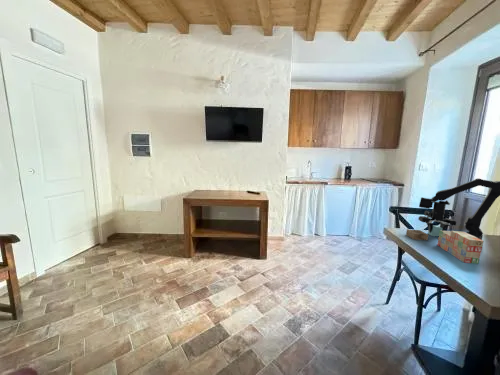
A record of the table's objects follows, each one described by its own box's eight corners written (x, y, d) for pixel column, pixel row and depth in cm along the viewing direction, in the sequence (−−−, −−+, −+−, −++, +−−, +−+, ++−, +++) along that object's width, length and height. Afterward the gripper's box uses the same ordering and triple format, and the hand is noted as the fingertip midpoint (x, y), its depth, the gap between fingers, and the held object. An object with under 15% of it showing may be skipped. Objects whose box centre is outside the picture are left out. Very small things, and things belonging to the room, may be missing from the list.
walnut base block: (419, 236, 142) (420, 230, 141) (427, 240, 134) (428, 234, 134) (406, 235, 143) (406, 229, 142) (413, 239, 135) (414, 233, 135)
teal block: (436, 234, 145) (438, 225, 145) (441, 237, 141) (442, 228, 140) (427, 233, 147) (429, 224, 146) (432, 236, 142) (433, 227, 141)
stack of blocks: (436, 245, 127) (440, 225, 126) (448, 246, 126) (452, 226, 124) (463, 262, 107) (468, 239, 105) (479, 264, 106) (484, 240, 104)
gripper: (448, 208, 146) (444, 230, 149) (416, 206, 151) (412, 227, 153) (459, 212, 136) (454, 236, 138) (424, 209, 140) (420, 232, 143)
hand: (434, 233), depth 143 cm, fingers closed on teal block, 5 cm apart
